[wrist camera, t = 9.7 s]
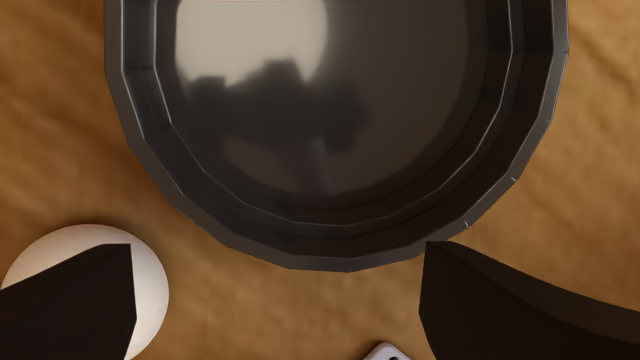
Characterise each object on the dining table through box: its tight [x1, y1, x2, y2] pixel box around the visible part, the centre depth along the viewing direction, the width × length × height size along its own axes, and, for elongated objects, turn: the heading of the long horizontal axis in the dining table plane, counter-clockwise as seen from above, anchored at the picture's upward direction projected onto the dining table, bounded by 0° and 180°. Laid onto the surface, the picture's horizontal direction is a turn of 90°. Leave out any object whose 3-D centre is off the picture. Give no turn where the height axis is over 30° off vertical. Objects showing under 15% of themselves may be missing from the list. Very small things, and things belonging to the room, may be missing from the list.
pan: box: [104, 0, 569, 273], centre depth 17 cm, size 15×15×4 cm
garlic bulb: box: [1, 224, 169, 360], centre depth 17 cm, size 6×6×8 cm
